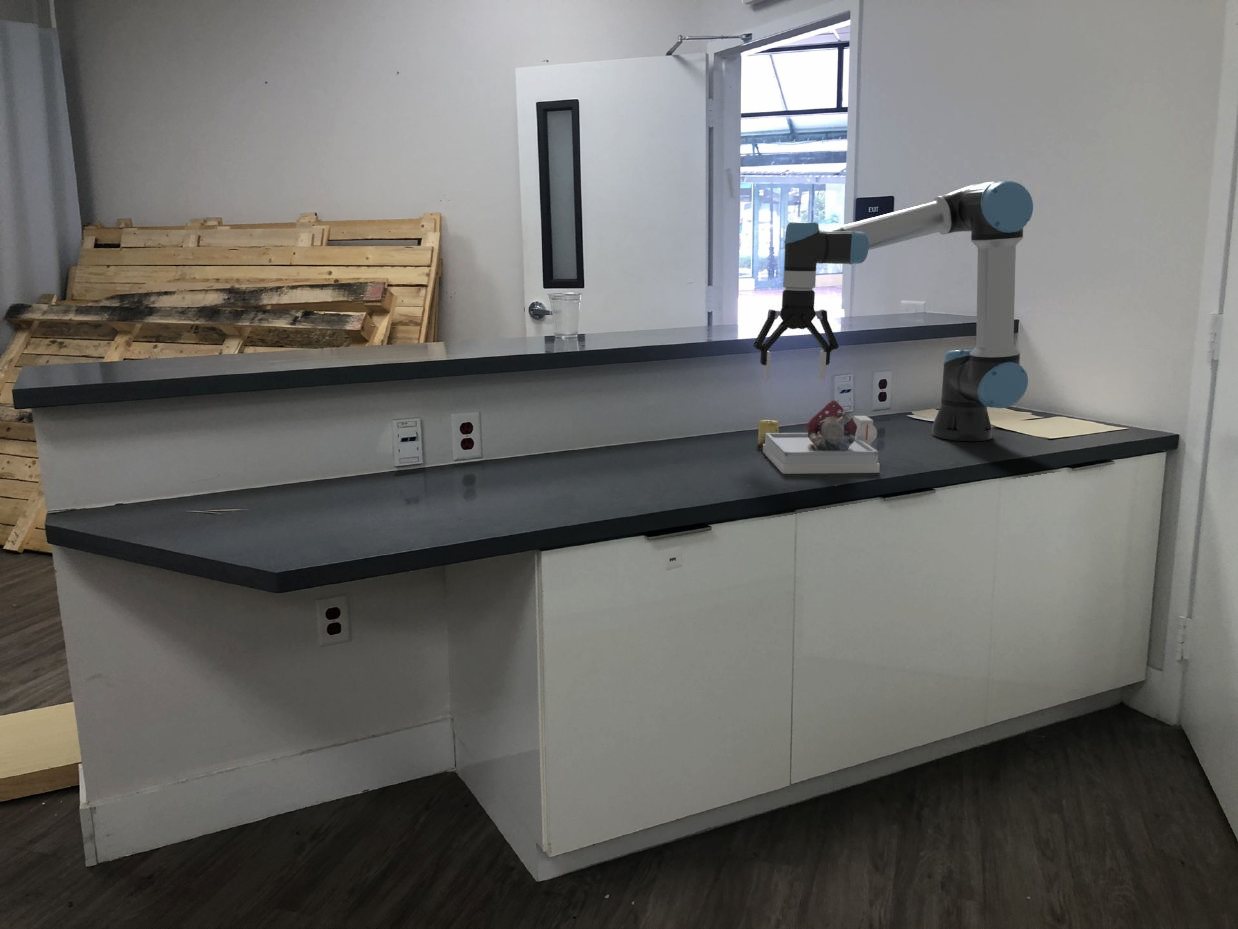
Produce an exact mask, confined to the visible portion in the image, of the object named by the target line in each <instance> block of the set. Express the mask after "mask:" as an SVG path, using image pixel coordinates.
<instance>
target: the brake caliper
mask: <svg viewBox="0 0 1238 929" xmlns="http://www.w3.org/2000/svg"><path fill="white" fill-rule="evenodd" d="M847 411H848V410H846V409H844V408H843V407H842V406H841V404H840V403H839V402H838V401H836V400H830V402H828V403H827V404H826V405H825V406H824V407H823V408H822V409H821V410H820V411H818V412H817V413H816V414H815V415H814V416H813V417H811V419H810V420H809V421H808V422H807V424H806V429H807V430H806V431H807V433H808V437H809V439H810V440H811V442H812V443H813V444H809V446H808V448H809V450H810V451H815V447H817V448H818V449H819V450H841V451H846V450H848V448H849V447H850V445H851V444H852V443H853V442H854V441H855V434H856V431H857V425H856V423H855V421H854V420H853V417H851V416H850V414H849V413H848V412H847ZM826 412H827V413H826ZM838 412H841V413H840V414H839V413H838ZM824 420H825V421H824ZM822 421H824V422H823V423H822ZM818 433H819V434H818Z"/></svg>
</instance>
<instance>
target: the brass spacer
mask: <svg viewBox="0 0 1238 929" xmlns="http://www.w3.org/2000/svg"><path fill="white" fill-rule="evenodd" d="M779 426H780V422H779V421H778V420H773V419H762V420H758V437H757V440H758V441H757V445H758V446H759V447H762V448H763V444H765V433H779V431H780V430H779V429H780V428H779Z"/></svg>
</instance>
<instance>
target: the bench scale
mask: <svg viewBox="0 0 1238 929" xmlns="http://www.w3.org/2000/svg"><path fill="white" fill-rule="evenodd" d="M852 419H853V420H854V421H855V423H856V425H857V431H856V434H855V441H854V442H853V443H852V444H851V445H850V447H849V448H848V450H846V451H841V450H819V449H818V448H817V447H815V451H810V450H809V448H808V446H809V444H813V443H812V442H811V440H810V439H809V437H808V432H778V433H765V444H763V447H762V453H763V454H764V455H765V456H766V457H767V458H768V459H769V461H771V463H772V464H773V465H774V466H775V467H776V468H777V469H778V470H779V472H780V473H781V474H787V475H792V474H794V475H795V474H796V475H797V474H799V475H800V474H875V473H878V474H879V473H880V466H881V465H880V463H879V461H878V460H879V450H877V449H875V448H874V447H872V443H873V442H874V441H875V440H876V438H877V435H878V431H877V428H876V427H875V425H874V420H873V419H871V418H870V417H869V416H867V415H853V416H852ZM818 434H819V432H818Z"/></svg>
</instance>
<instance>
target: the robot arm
mask: <svg viewBox="0 0 1238 929" xmlns="http://www.w3.org/2000/svg"><path fill="white" fill-rule="evenodd" d="M1033 213H1034V201H1033V197H1032V195H1031V194H1030V192H1029V190H1028V189H1027V188H1026V187H1025V186H1024V185H1023V184H1021V183H1018V182H1016V181H1011V180H997V181H988V182H977V183H974V184H970V185H967V186H965V187H962V188H959V189H957V190H953V191H951V192H948V193H944V194H942V195H937V196H935V197H934V198H933V200H932V201H930V202H928V203H923V204H920V205H917V206H916V205H915V206H912V207H909V208H905V209H901V210H897V211H892V212H889V213H886V214H885V213H884V214H882V215H878V216H875V217H870V218H866V219H862V220H859V221H855V222H851V223H848V224H847V223H846V224H843V225H839V226H837V227H833V228H828V229H825V230H820V227H819V223H818V222H817V221H815V222H814V221H798V222H797V221H790V222H789V223H788V224H787V225H786V229H785V237H784V257H783V258H784V259H783V260H784V262H783V265H784V266H783V279H782V281H783V282H782V287H783V288H784V289H783V291H782V295H781V296H782V297H781V298H782V299H781V308H780V310H775V309H768V312H767V316H766V317H767V318H766V320H765V322H764V323H763V326H762V328H761V330H760V331H759V333H758V335H757V336H756V339H755V341H754V342H753V345H752V346H753V348H755V349H756V350H758V351H760V360H759V361H760V365H762V366H763V379H765V380H770V375H771V372H770V371H771V370H770V369H771V354H772V352H771V351H770V350H769V349H770V348H771V347H772V346H773V344H775V343H776V341H777V340H778V339H779V338H780V337H781V336H782V335H783V333H784V332H786V331H787V330H788V329H791V330H796V329H799V330H805V329H807V331H809V333H810V334H811V335H812V336H813V338H814V339H815V340H816V342H817V343H818V344H819V345H820V347H821V348H822V349H823V350H819V360H818V361H819V363H818V379H820V380H826V366H828V365H830V362H831V361H830V360H831V353H832V351H834V350H837V349H839V344H838V341H837V338H836V336H835V335H834V332H833V330H832V327H831V325H830V322H829V320H828V311H827V310H826V309H820V310H815V298H816V297H815V296H816V294H815V293H816V292H815V290H814V288H816V281H817V280H816V277H817V265H818V264H828V265H829V264H833V265H835V264H836V265H838V264H839V265H840V264H842V265H853V264H855V265H856V264H857V265H858V264H859V265H860V264H863V263H864V262H865V261H866V259H867V258H868V254H869V251H870V250H875V249H878V248H882V247H886V246H889V245H894V244H898V243H901V242H904V241H909V240H913V239H917V238H920V237H924V236H928V235H933V234H936V233H939V234H940V235H943V236H945V235H948V234H952V233H959V232H970V233H971V234H970V235H971V236H970V242H971V243H973V244H974V245H975V247H976V248H977V266H976V268H977V269H976V270H977V271H976V272H977V273H976V275H977V276H976V277H977V278H976V279H977V280H976V286H977V287H976V332H975V333H976V340H975V342H976V343H975V344H976V345H975V346H974V348H973V349H959V350H958V349H957V350H955V349H954V350H953V349H952V350H948V351H947V352H945V356H944V361H943V373H942V374H943V375H942V383H941V384H942V385H941V386H942V387H941V397H940V398H941V399H940V407H939V409H938V411H937V413H936V417H935V418H934V421H933V423H932V426H931V435H932V436H934V437H935V438H936V437H937V438H940V439H944V440H948V441H949V440H950V441H957V442H982V441H983V442H984V441H988V440H991V439H992V435H993V428H992V425H991V419H990V416H989V412H988V408H995V409H1006V408H1009V407H1012V406H1014V405H1015V404H1017V403H1018V402H1019V401H1020V400H1021V399H1022V398H1023V396H1024V395H1025V394H1026V392H1027V390H1028V386H1029V377H1028V373H1027V371H1026V370H1025V369H1024V367H1023V366H1022V365H1021V364H1020V361H1021V357H1020V356H1021V352H1020V350H1019V349H1018V348H1017V347H1016V346H1015V345H1014V339H1015V338H1014V336H1015V335H1014V332H1015V331H1014V330H1015V296H1016V295H1015V291H1016V290H1015V289H1016V288H1015V287H1016V259H1017V258H1016V257H1017V256H1016V255H1017V253H1016V252H1017V250H1016V249H1017V244H1019V243H1020V242H1021V241H1022V240H1023V239H1024V227H1026V226H1027V225H1028V222H1030V221H1031V219H1032V217H1033ZM778 317H780V318H781V320H782V321H781V322H780V324H779V325H778V326H777V327H776V329H775V330H774V331H773V332H772V333H771V334H770V335H769V336H768V334H769V332H770V330H771V328H772V326H773V324H774V322H775V320H777V319H778ZM815 318H817V319H818V320H819V321H820V324H821V327H822V329H823V331H824V334H825V336H826V339H827V340H828V342H827V341H826V340H825V338H824V337H823V336H822V334H821V333H820V332H819V330H818V329H817V328H816V326H815V324H814V323H813V322H812V321H813V320H814V319H815ZM767 336H768V338H767ZM766 338H767V339H766Z"/></svg>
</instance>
